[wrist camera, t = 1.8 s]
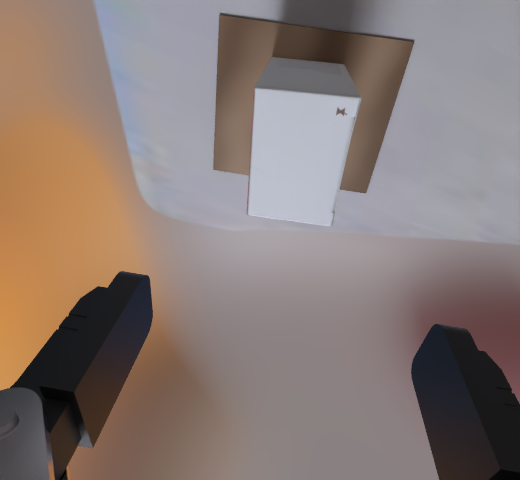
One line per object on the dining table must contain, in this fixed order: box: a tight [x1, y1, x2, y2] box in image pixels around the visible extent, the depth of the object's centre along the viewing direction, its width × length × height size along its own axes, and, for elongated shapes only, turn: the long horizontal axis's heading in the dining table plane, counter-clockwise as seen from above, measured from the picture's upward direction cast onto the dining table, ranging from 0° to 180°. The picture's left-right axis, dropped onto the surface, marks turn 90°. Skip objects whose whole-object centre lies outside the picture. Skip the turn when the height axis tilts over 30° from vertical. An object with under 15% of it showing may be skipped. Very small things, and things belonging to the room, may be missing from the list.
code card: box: [213, 15, 414, 193], centre depth 28 cm, size 14×12×1 cm
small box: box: [247, 57, 362, 226], centre depth 24 cm, size 8×6×10 cm
